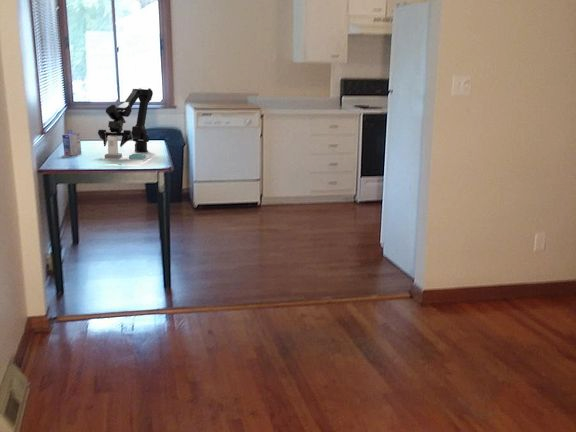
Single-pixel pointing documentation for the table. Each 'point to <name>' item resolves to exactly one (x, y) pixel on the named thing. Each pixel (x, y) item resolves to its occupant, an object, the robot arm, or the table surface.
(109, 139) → the plug
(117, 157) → the socket board
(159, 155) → the table surface
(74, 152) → the ink cartridge box
